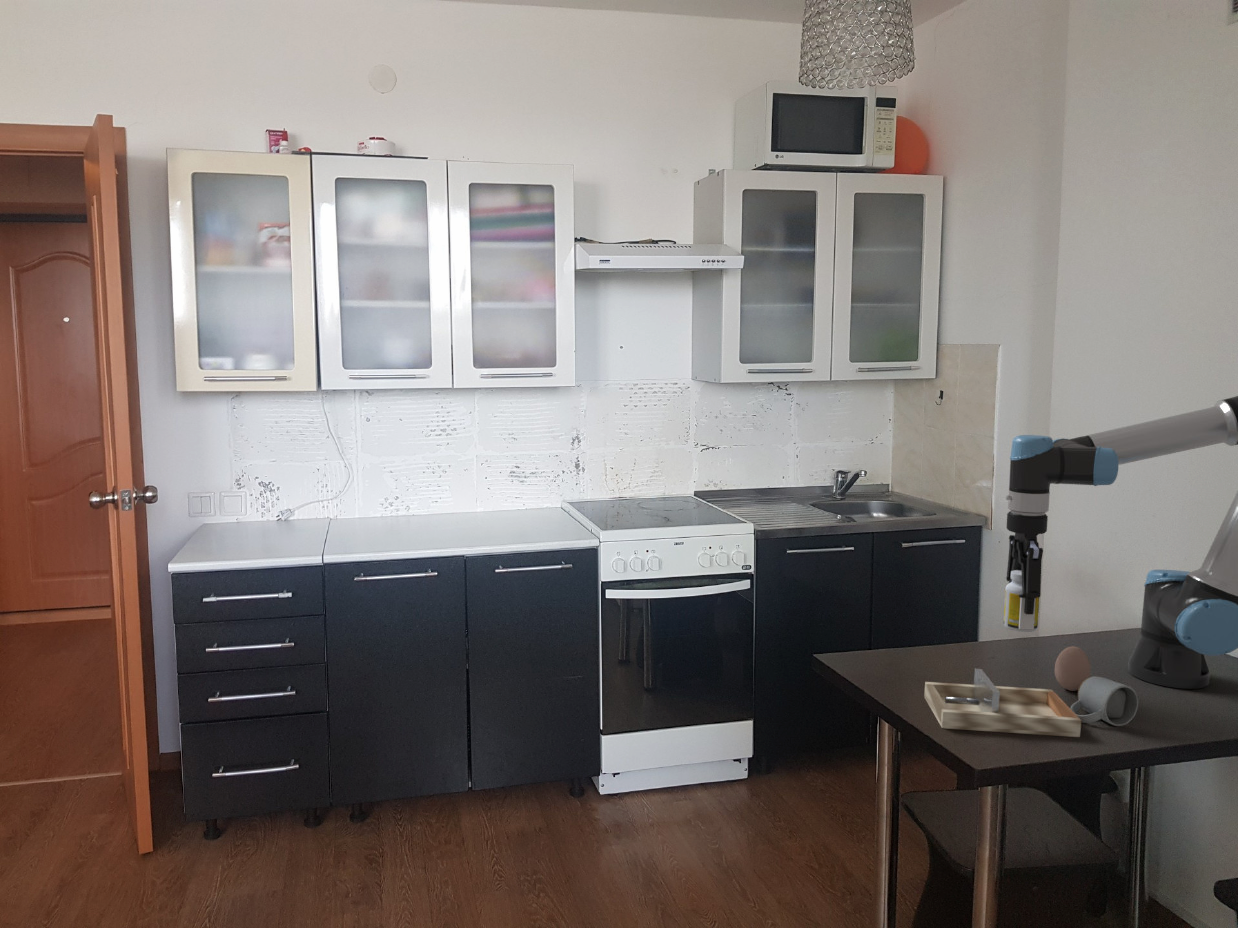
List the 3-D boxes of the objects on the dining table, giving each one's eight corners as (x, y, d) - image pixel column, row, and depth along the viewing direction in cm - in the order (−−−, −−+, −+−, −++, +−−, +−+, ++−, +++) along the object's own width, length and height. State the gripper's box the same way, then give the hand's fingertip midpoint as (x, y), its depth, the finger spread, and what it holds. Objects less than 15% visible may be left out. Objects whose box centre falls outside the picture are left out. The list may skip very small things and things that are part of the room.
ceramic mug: (1103, 707, 186) (1106, 669, 185) (1137, 724, 178) (1141, 684, 177) (1058, 713, 183) (1061, 675, 182) (1091, 730, 175) (1094, 690, 174)
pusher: (979, 698, 186) (981, 668, 185) (997, 723, 174) (999, 691, 173) (937, 695, 187) (940, 666, 186) (953, 720, 175) (955, 689, 174)
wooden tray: (1050, 704, 186) (1051, 689, 186) (1079, 736, 171) (1081, 720, 171) (924, 696, 189) (925, 681, 188) (942, 727, 174) (943, 711, 173)
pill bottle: (1040, 634, 192) (1044, 577, 190) (1006, 631, 193) (1009, 575, 191) (1033, 624, 198) (1036, 569, 196) (1000, 622, 199) (1003, 568, 198)
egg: (1073, 697, 191) (1077, 653, 189) (1045, 686, 196) (1049, 643, 195) (1096, 693, 193) (1100, 649, 192) (1068, 682, 199) (1072, 640, 198)
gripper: (994, 503, 202) (988, 609, 205) (1023, 520, 183) (1016, 637, 186) (1031, 504, 201) (1024, 610, 204) (1064, 521, 182) (1056, 638, 185)
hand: (1020, 623), depth 195 cm, fingers closed on pill bottle, 6 cm apart
